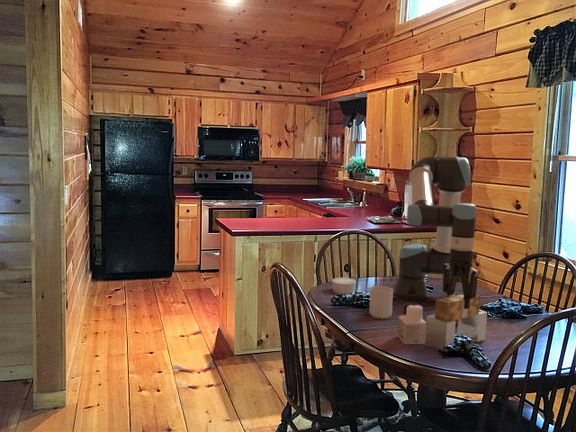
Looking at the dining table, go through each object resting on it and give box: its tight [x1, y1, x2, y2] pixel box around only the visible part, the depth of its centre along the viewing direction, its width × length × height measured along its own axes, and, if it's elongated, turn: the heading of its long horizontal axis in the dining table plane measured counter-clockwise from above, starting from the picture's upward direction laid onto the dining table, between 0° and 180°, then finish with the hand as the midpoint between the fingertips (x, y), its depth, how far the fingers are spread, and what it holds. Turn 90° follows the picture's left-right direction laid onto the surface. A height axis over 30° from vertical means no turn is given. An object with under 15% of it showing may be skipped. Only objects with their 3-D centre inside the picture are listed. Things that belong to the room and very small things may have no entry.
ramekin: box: [331, 277, 357, 295], centre depth 249 cm, size 11×11×5 cm
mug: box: [369, 285, 394, 320], centre depth 216 cm, size 12×9×11 cm
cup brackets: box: [424, 309, 488, 351], centre depth 187 cm, size 22×8×10 cm, turn 126°
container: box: [397, 302, 426, 345], centre depth 188 cm, size 8×8×13 cm
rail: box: [434, 293, 481, 321], centre depth 186 cm, size 18×4×6 cm, turn 126°
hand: (457, 315), depth 186 cm, fingers closed on rail, 4 cm apart
